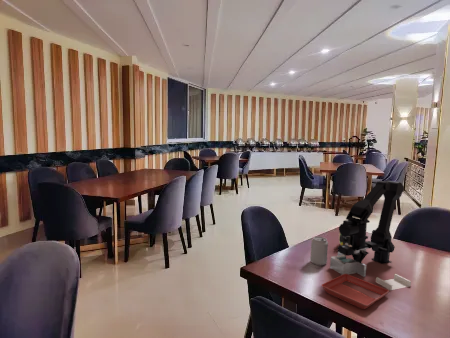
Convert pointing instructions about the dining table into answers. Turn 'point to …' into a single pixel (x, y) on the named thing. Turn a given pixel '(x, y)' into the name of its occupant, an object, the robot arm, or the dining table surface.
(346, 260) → the plug
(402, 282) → the white flat channel piece
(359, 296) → the plant saucer
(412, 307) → the dining table surface
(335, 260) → the bracket
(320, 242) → the can
